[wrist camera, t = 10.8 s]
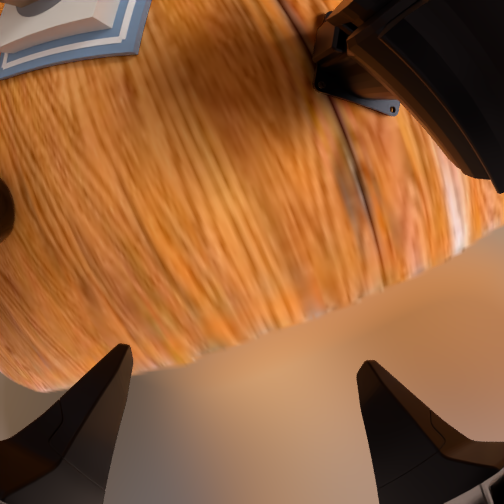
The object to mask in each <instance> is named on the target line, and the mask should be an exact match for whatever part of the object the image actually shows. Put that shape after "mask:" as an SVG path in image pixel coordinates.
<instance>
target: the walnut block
mask: <svg viewBox="0 0 504 504" xmlns="http://www.w3.org/2000/svg"><path fill="white" fill-rule="evenodd" d="M36 1H39V0H0V2H2V3H6V4H9V5H13V6H17V7H20V8H22V7H24V6H27V5H29V4H31V3H34V2H36Z"/></svg>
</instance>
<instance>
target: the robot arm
mask: <svg viewBox="0 0 504 504" xmlns="http://www.w3.org/2000/svg"><path fill="white" fill-rule="evenodd" d="M312 60H313V61H314V63H316V69H315V74H314V80H313V88H314V89H315V90H316V91H317V92H319V93H323V94H327V95H330V96H334V97H337V98H340V99H343V100H347V101H350V102H353V103H356V104H359V105H362V106H364V107H367V108H370V109H373V110H375V111H378V112H381V113H383V114H386V115H388V116H396V115H397V114H398V111H399V106H400V103H401V104H402V105H403V106H404V107H405V108H406V109H407V110H408V111H409V112H410V113H411V114H412V115H413V116H414V118H415V119H416V120H417V121H418V122H419V123H420V124H421V125H422V127H423V128H424V129H425V130H426V131H427V132H428V134H429V135H430V136H431V137H432V138H433V140H434V141H435V142H436V143H437V145H438V146H439V147H440V148H441V150H442V151H443V152H444V154H445V155H446V156H447V158H448V159H449V160H450V161H451V162H452V163H453V164H454V165H455V166H456V167H458V168H459V169H461V171H462V172H463V173H464V174H465V175H468V176H470V177H473V178H477V179H488V180H490V179H491V181H492V183H493V185H494V187H495V189H496V191H497V193H499V194H501V193H504V0H343V1H342V2H341V3H340V4H339V5H338V6H337V7H336V8H335V10H334V11H329V12H328V13H326V14H325V17H324V23H323V25H322V26H321V27H320V28H318V30H317V35H316V40H315V46H314V52H313V57H312ZM319 82H321V83H323V85H324V87H323V88H322V89H321V88H319V86H318V83H319ZM390 107H392V108H393V112H391V111H390ZM132 367H133V357H132V352H131V347H130V346H129V345H127V344H122V343H120V344H118V345H117V346H116V347H114V348H113V349H112V350H111V351H110V352H109V353H108V354H107V355H106V356H105V357H104V358H102V359H101V360H100V361H99V362H98V363H97V364H96V365H95V366H94V367H93V368H92V369H91V370H90V371H88V372H87V373H86V374H85V375H84V376H83V377H82V378H81V379H80V380H79V381H78V382H77V383H76V384H75V385H73V386H72V387H71V388H70V389H69V390H68V391H67V392H66V393H65V394H64V395H63V396H62V397H61V398H60V400H58V401H57V402H55V404H54V405H52V406H51V407H50V408H49V409H48V410H47V411H46V412H45V413H43V414H42V415H41V416H40V417H39V418H37V419H36V420H34V421H33V422H32V423H30V424H29V425H28V426H26V427H25V428H24V429H22V430H21V431H20V432H18V433H17V434H16V435H14V436H12V437H11V438H9V439H6V440H3V441H0V504H103V501H104V495H105V489H106V484H107V479H108V474H109V470H110V465H111V460H112V456H113V451H114V448H115V443H116V439H117V435H118V431H119V427H120V423H121V420H122V416H123V413H124V409H125V406H126V402H127V397H128V391H129V384H130V378H131V373H132ZM357 385H358V393H359V400H360V407H361V412H362V417H363V421H364V425H365V430H366V434H367V439H368V444H369V448H370V453H371V458H372V463H373V469H374V474H375V479H376V485H377V491H378V498H379V504H504V442H480V441H473V440H470V439H468V438H467V437H465V436H464V435H463V434H461V433H460V432H458V431H457V430H456V429H454V428H453V427H451V426H450V425H448V424H447V423H446V422H445V421H443V420H442V419H441V418H440V417H439V416H438V415H436V414H435V413H434V412H433V411H432V410H430V408H428V407H427V406H426V405H425V404H424V403H423V402H422V401H421V400H419V399H418V398H417V397H416V396H415V395H413V393H411V392H410V391H409V390H408V389H407V388H406V387H405V386H404V385H402V384H401V383H400V382H399V381H398V380H397V379H396V378H394V377H393V376H392V375H391V374H390V373H389V372H388V371H387V370H385V369H384V368H383V367H382V366H381V365H380V364H378V363H377V362H376V361H375V360H367V361H365V362H364V364H363V365H362V366H361V368H360V369H359V371H358V373H357Z"/></svg>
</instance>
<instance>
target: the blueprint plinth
mask: <svg viewBox="0 0 504 504" xmlns="http://www.w3.org/2000/svg"><path fill="white" fill-rule="evenodd" d="M151 1H152V0H39V1H36V2H34V3H31V4H29V5H27V6H24V7H22V8H20V7H17V6H13V5H9V4H6V3H5V5H4V8H3V11H2V13H1V16H0V52H1V55H0V80H4V79H7V78H10V77H13V76H17V75H20V74H23V73H27V72H30V71H34V70H38V69H41V68H46V67H50V66H54V65H59V64H64V63H69V62H75V61H81V60H87V59H94V58H102V57H112V56H123V55H138V51H139V47H140V42H141V38H142V34H143V30H144V26H145V22H146V18H147V15H148V11H149V8H150V4H151Z"/></svg>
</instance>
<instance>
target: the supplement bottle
mask: <svg viewBox="0 0 504 504" xmlns="http://www.w3.org/2000/svg"><path fill="white" fill-rule="evenodd" d="M14 220H15V211H14V204H13V200H12V196H11V194H10V191H9V189H8V187H7V186H6V184H5V183H4V181H3V180H2V179H1V178H0V244H1V243H2V242H3V241H4V240H5V239H6V238H7V237H8V236H9V235H10V233H11V232H12V229H13V226H14Z"/></svg>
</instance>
